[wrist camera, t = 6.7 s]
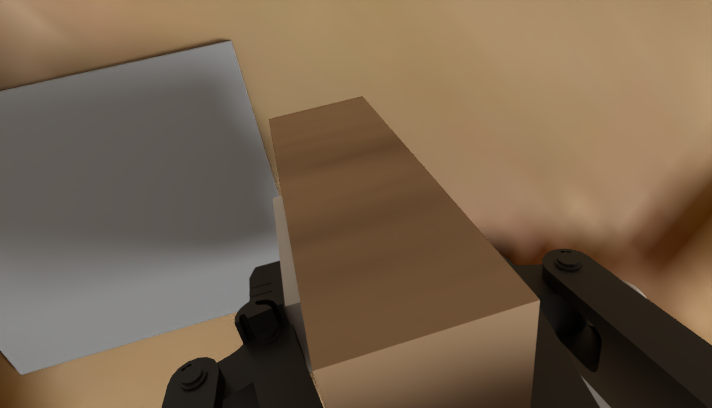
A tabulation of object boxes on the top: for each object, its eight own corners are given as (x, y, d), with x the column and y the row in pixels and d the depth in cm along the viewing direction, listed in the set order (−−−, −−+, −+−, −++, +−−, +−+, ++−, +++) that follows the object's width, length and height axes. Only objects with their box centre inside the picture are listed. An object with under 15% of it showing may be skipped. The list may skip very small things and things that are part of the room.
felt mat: (306, 286, 25) (307, 291, 25) (24, 369, 23) (21, 374, 23) (231, 40, 18) (230, 41, 18) (-177, 129, 16) (-186, 133, 16)
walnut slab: (392, 277, 20) (517, 544, 11) (321, 298, 20) (390, 592, 11) (362, 96, 16) (539, 299, 6) (269, 118, 15) (312, 370, 6)
